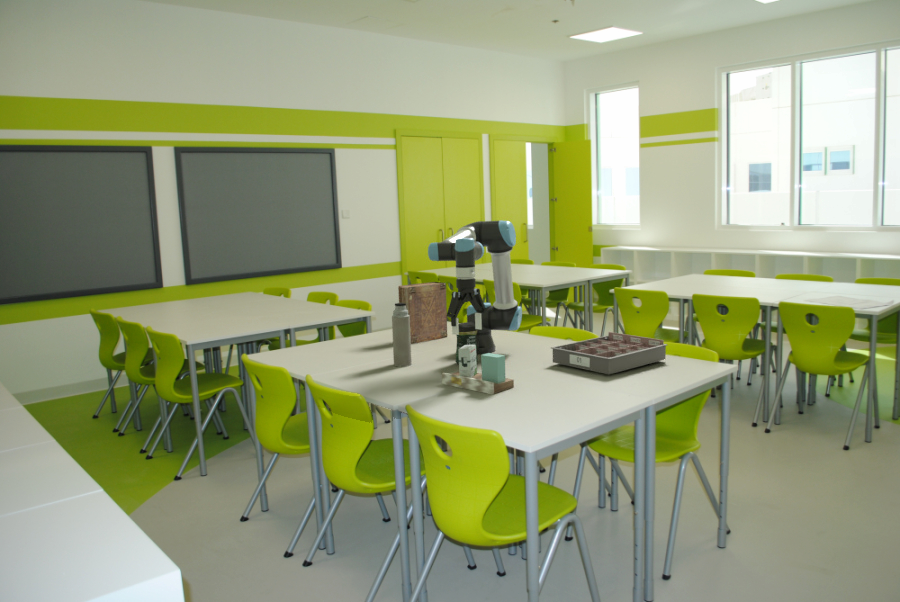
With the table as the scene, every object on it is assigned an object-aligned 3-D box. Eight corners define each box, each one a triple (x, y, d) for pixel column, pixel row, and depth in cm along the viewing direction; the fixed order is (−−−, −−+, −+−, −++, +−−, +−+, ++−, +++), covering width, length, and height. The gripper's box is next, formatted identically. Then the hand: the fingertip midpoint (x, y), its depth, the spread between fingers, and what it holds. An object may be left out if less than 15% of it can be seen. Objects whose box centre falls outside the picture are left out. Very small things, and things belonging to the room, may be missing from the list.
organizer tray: (550, 365, 289) (549, 343, 288) (608, 351, 313) (608, 331, 312) (609, 378, 264) (609, 354, 263) (667, 362, 288) (668, 340, 287)
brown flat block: (441, 383, 263) (441, 373, 262) (463, 377, 272) (463, 366, 272) (492, 394, 245) (491, 383, 244) (513, 387, 254) (513, 376, 254)
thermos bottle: (399, 362, 304) (396, 301, 300) (414, 363, 301) (412, 302, 297) (390, 365, 297) (388, 304, 293) (406, 367, 294) (403, 304, 290)
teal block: (481, 380, 254) (481, 354, 253) (489, 378, 258) (488, 352, 256) (498, 383, 249) (497, 357, 248) (505, 381, 252) (504, 355, 251)
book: (410, 344, 346) (408, 287, 342) (400, 341, 353) (397, 286, 349) (447, 337, 362) (445, 282, 358) (436, 335, 369) (435, 281, 365)
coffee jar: (462, 366, 292) (461, 324, 289) (453, 363, 298) (452, 322, 296) (480, 363, 297) (479, 322, 294) (470, 360, 303) (469, 320, 301)
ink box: (465, 373, 267) (464, 344, 265) (477, 373, 265) (476, 344, 264) (458, 378, 259) (457, 348, 257) (470, 378, 257) (469, 348, 256)
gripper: (450, 281, 246) (452, 337, 249) (493, 275, 264) (494, 327, 267) (436, 280, 251) (438, 335, 254) (479, 274, 269) (480, 326, 272)
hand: (467, 331), depth 260 cm, fingers open, 13 cm apart
